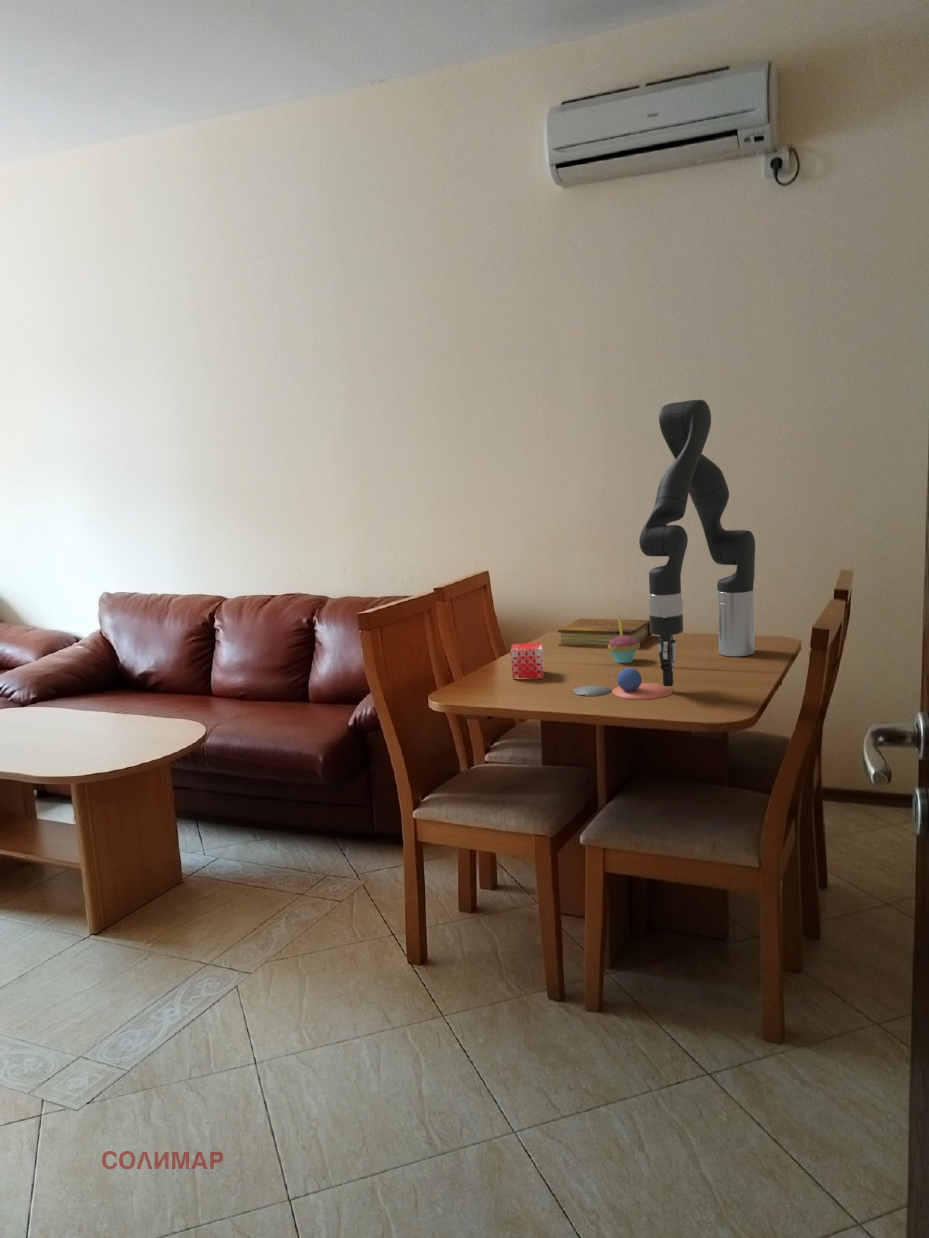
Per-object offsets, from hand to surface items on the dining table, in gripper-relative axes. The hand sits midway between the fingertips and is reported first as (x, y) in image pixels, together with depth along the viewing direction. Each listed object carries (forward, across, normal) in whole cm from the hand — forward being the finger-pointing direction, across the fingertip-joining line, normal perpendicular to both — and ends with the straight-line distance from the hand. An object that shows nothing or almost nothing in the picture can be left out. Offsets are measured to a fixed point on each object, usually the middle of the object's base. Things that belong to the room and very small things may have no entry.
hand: (668, 685), depth 203 cm
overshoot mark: (+2, 0, -18) cm, 18 cm away
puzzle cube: (+2, -15, -37) cm, 40 cm away
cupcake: (+2, -31, -14) cm, 34 cm away
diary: (+2, -58, -23) cm, 62 cm away
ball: (-1, 0, -9) cm, 9 cm away
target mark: (+2, 0, -6) cm, 6 cm away
